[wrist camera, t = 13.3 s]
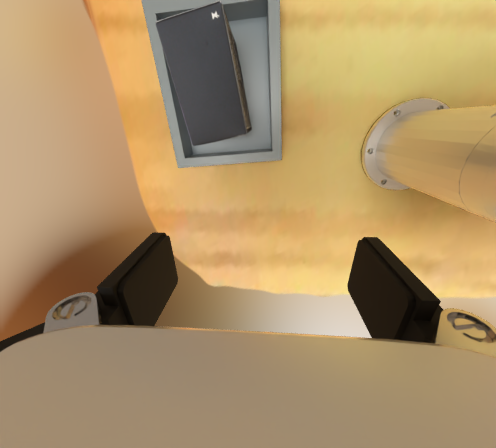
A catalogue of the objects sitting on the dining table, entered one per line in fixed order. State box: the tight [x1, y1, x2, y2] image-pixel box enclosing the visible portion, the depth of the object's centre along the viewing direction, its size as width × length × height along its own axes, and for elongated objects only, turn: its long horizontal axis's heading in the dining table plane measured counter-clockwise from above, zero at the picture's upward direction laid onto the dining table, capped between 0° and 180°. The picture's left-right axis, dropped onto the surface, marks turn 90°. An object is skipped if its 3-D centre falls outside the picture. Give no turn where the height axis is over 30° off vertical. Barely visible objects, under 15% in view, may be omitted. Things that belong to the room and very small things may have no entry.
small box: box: [155, 0, 252, 146], centre depth 24 cm, size 11×6×10 cm, turn 12°
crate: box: [142, 0, 282, 168], centre depth 27 cm, size 14×17×5 cm
